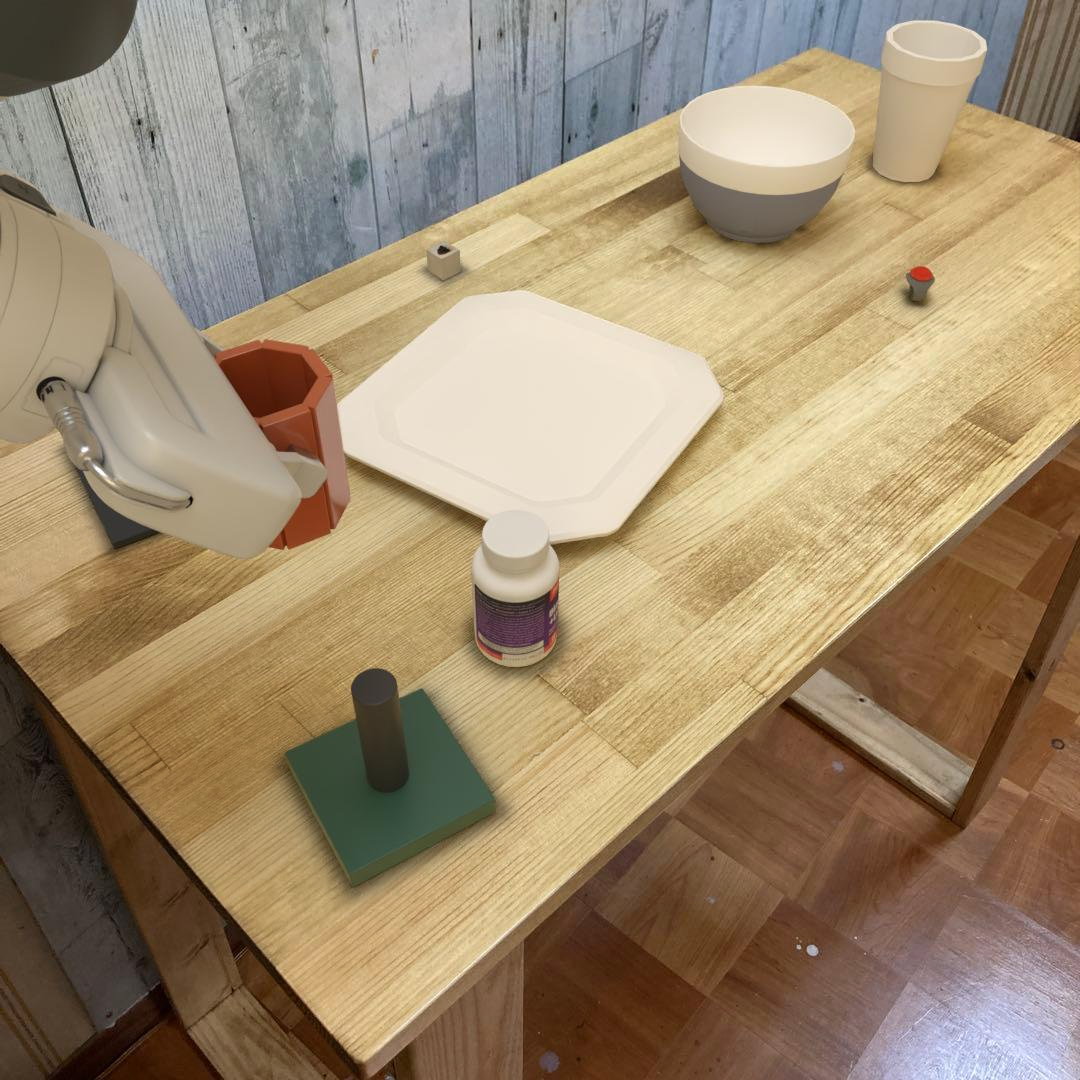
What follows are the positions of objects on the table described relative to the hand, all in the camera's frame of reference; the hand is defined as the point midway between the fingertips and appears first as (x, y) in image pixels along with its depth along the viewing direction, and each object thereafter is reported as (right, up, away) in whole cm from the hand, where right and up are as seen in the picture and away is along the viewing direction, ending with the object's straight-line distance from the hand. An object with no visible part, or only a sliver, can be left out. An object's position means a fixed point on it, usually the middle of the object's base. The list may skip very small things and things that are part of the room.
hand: (283, 430), depth 55 cm
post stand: (+4, -20, +11) cm, 23 cm away
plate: (+12, +4, +34) cm, 36 cm away
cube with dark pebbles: (+4, +19, +48) cm, 52 cm away
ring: (+46, +16, +46) cm, 67 cm away
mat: (-15, 0, +29) cm, 33 cm away
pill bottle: (+11, -12, +19) cm, 25 cm away
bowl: (+33, +26, +55) cm, 69 cm away
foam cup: (+50, +33, +62) cm, 87 cm away
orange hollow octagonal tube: (-1, -3, +3) cm, 5 cm away
